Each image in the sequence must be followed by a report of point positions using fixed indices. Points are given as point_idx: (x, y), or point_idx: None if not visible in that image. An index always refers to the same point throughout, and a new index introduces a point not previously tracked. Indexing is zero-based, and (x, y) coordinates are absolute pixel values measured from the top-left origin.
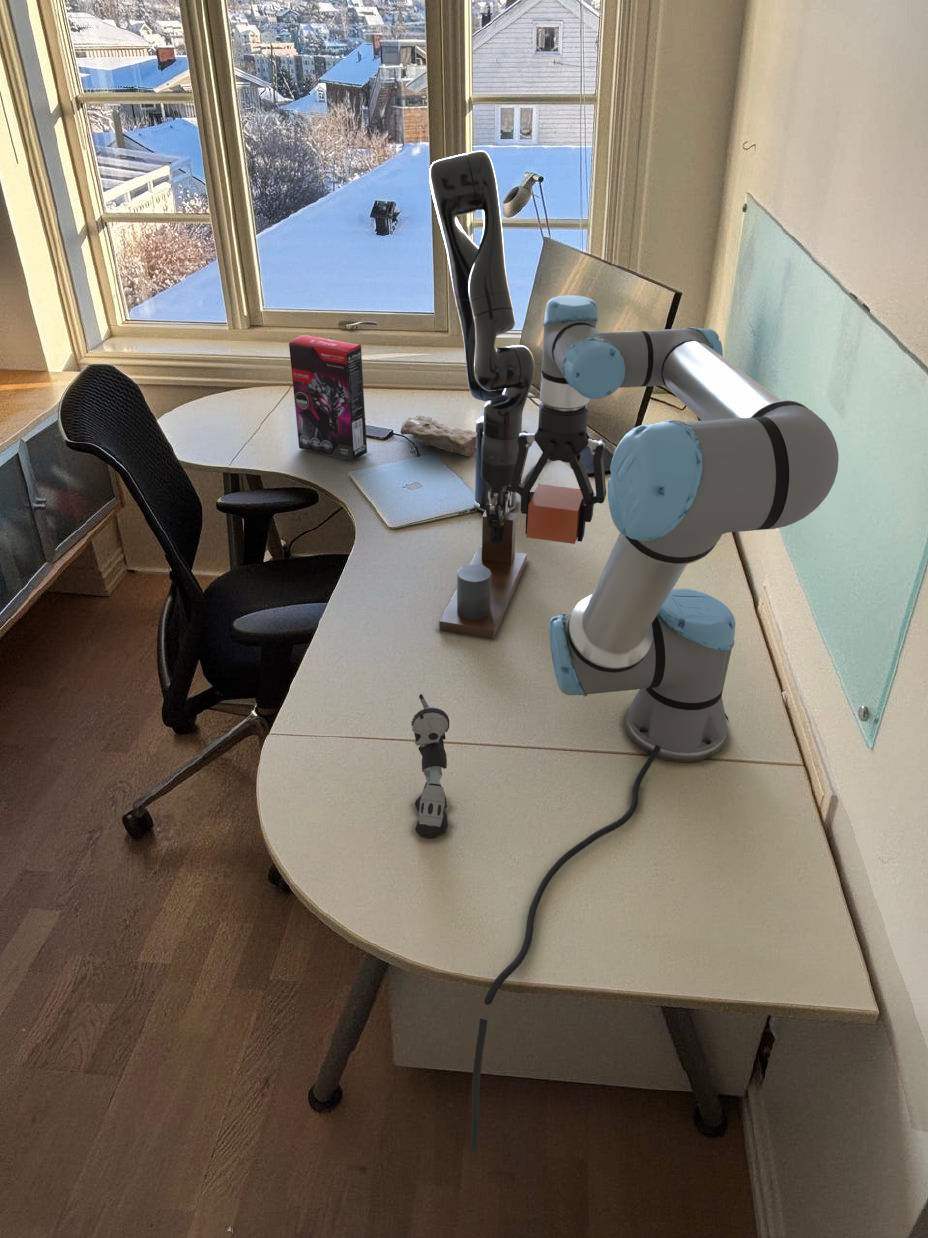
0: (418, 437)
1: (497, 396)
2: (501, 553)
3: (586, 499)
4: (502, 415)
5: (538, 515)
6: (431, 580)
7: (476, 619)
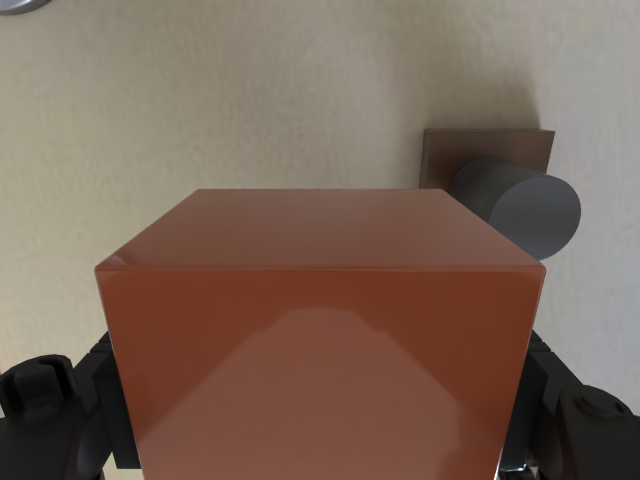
0: None
1: None
2: None
3: (51, 426)
4: None
5: (423, 234)
6: (570, 294)
7: (474, 159)
